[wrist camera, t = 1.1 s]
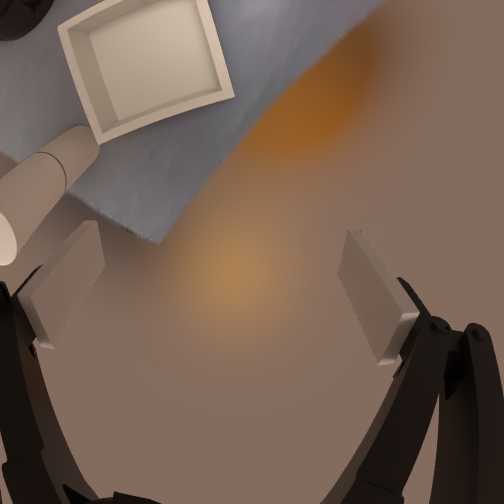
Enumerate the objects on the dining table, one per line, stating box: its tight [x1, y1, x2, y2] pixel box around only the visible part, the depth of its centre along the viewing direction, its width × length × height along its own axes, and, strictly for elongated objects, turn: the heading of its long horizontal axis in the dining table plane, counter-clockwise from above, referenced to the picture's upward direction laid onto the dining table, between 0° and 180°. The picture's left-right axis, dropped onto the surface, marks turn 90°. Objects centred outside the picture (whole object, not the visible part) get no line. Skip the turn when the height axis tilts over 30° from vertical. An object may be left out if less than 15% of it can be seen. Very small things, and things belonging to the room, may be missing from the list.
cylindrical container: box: [0, 126, 100, 265], centre depth 29 cm, size 7×7×25 cm
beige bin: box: [57, 0, 235, 145], centre depth 29 cm, size 18×18×8 cm
